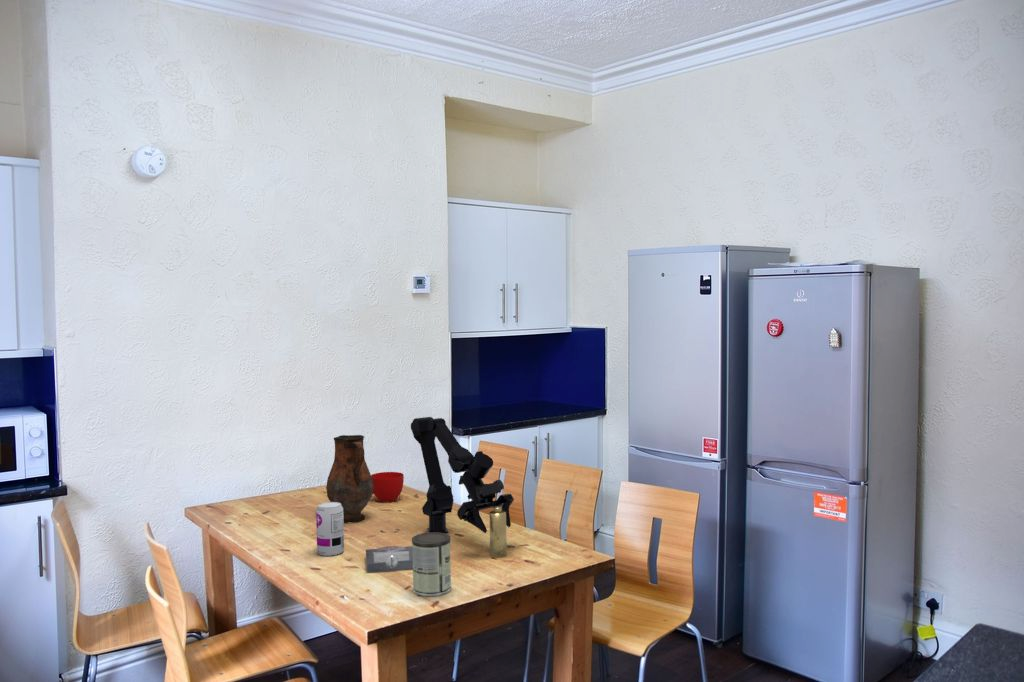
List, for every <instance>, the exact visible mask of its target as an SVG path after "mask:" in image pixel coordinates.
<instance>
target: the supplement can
mask: <svg viewBox="0 0 1024 682" xmlns="http://www.w3.org/2000/svg"><path fill="white" fill-rule="evenodd" d="M315 511H316V512H315V513H316V515H315V516H316V517H315V518H316V522H315V523H316V524H315V525H316V552H317V554H319V555H320V556H322V555H323V557H333V556H332V555H334V556H337V554H338V555H341V554H342V553H343V552H344V550H345V535H344V534H345V528H344V527H345V523H344V518H343V507H342V505H341V503H339V502H330V501H326V502H322V503H319V504H318V505H317V507H316V510H315ZM340 553H341V554H340Z"/></svg>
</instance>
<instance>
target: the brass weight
mask: <svg viewBox="0 0 1024 682" xmlns="http://www.w3.org/2000/svg"><path fill="white" fill-rule="evenodd" d="M489 555H490V557H491V558H492V557H493V558H504V557H506V556H507V525H506V512H505V511H502V507H500V506H496V507H493V510H491V511H490V512H489Z"/></svg>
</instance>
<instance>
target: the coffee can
mask: <svg viewBox="0 0 1024 682" xmlns="http://www.w3.org/2000/svg"><path fill="white" fill-rule="evenodd" d="M411 545H412V553H413V569H412V582H413V583H412V585H413V587H412V592H413V593H414V594H416V595H417V596H420V597H437V596H443V595H446V594H448V593H450V591H452V580H451V579H452V578H451V577H452V576H451V575H452V574H451V573H452V570H451V569H452V568H451V565H452V564H451V535H450V534H448V533H438V532H429V533H428V532H422V533H418V534H416V535H413V536H412V537H411Z"/></svg>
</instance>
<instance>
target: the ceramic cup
mask: <svg viewBox="0 0 1024 682" xmlns="http://www.w3.org/2000/svg"><path fill="white" fill-rule="evenodd" d="M371 477H372V481H373V493H372V495H374V496H375V498H376V499H377V500H378V501H379V502H381V503H391V502H395V501H396V500H397V499H398V498H399V497H400V494H401V493H402V492H403V487H404V481H405V480H404V478H405V476H404V474H403V473H402V472H399V471H398V472H397V471H382V472H377V473H373V474H371Z"/></svg>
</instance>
